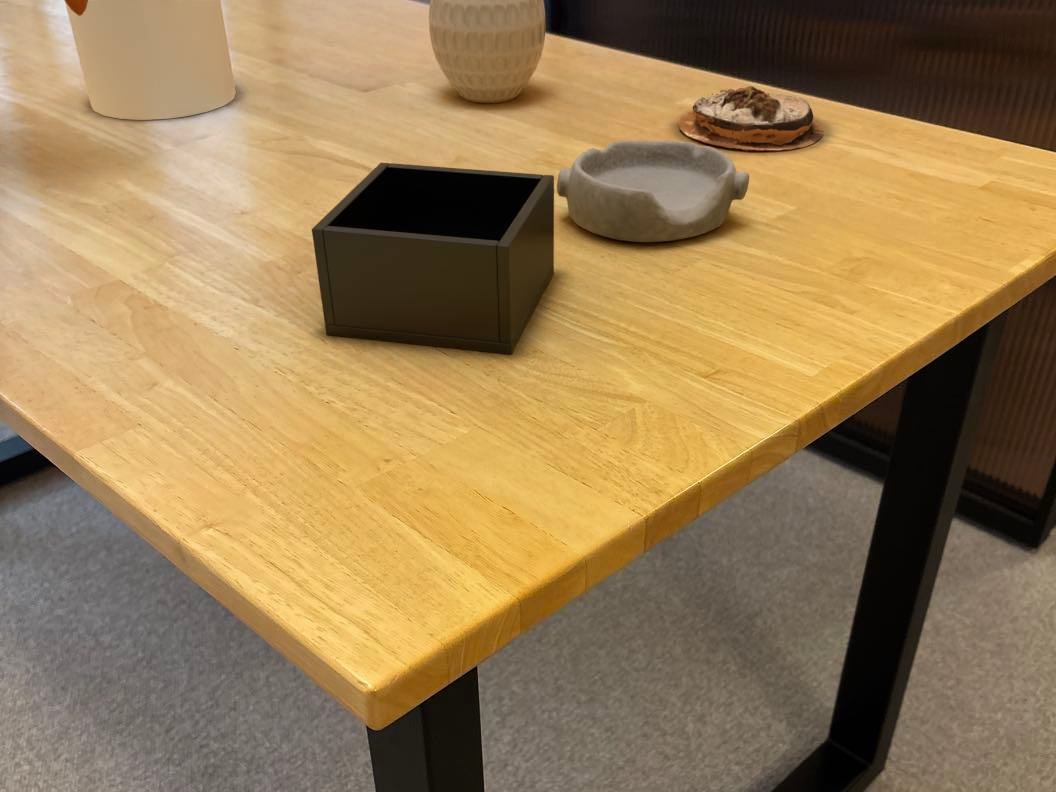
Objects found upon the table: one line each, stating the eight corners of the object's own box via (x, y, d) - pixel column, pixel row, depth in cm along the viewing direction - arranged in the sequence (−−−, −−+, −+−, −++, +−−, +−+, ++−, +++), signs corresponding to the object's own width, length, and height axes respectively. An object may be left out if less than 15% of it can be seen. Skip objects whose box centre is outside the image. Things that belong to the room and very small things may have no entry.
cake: (849, 125, 114) (855, 84, 112) (776, 162, 105) (781, 118, 103) (729, 99, 122) (733, 60, 119) (652, 132, 113) (654, 90, 110)
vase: (431, 113, 118) (419, -59, 108) (436, 81, 129) (426, -79, 118) (548, 111, 119) (547, -61, 109) (543, 79, 129) (543, -81, 119)
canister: (206, 72, 132) (171, -118, 120) (258, 103, 122) (225, -102, 109) (73, 94, 125) (21, -106, 113) (115, 129, 115) (63, -88, 102)
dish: (761, 218, 94) (768, 160, 91) (656, 264, 86) (659, 203, 83) (636, 178, 102) (638, 123, 99) (530, 216, 94) (529, 159, 91)
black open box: (325, 334, 77) (311, 228, 72) (389, 259, 87) (380, 162, 83) (511, 354, 74) (508, 246, 70) (554, 274, 85) (554, 175, 80)
